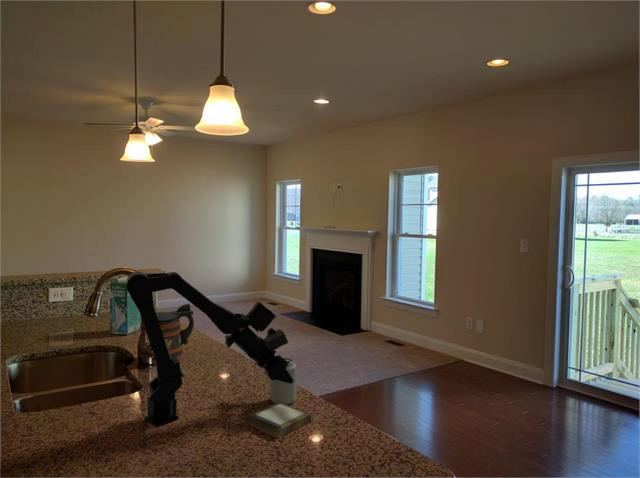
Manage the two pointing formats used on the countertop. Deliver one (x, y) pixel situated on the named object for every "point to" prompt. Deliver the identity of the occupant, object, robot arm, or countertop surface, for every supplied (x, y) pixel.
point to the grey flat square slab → (278, 419)
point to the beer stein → (175, 330)
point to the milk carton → (122, 308)
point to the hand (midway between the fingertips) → (287, 377)
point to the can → (284, 386)
